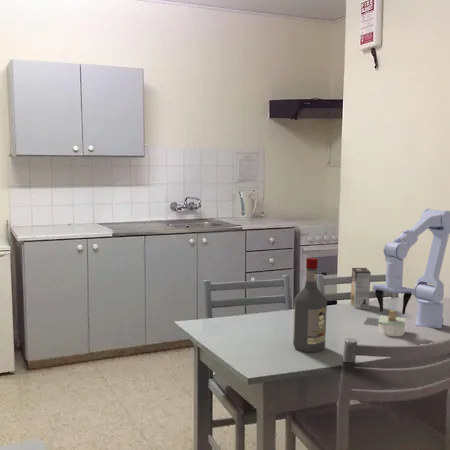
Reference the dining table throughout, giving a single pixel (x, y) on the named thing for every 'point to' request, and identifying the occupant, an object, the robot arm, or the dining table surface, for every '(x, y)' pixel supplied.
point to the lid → (392, 319)
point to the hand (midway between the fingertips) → (392, 312)
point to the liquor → (310, 313)
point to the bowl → (391, 330)
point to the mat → (371, 321)
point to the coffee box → (360, 288)
